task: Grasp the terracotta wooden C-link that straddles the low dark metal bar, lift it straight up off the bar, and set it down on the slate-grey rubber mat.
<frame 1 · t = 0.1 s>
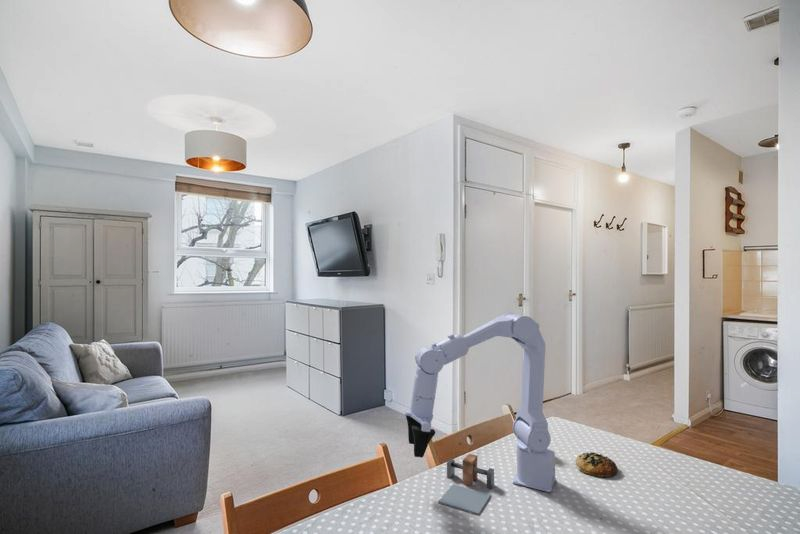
hand: (415, 449, 102), 11 cm above the table, tool pointing down, fingers open, 7 cm apart
mat: (465, 499, 99), on the table
supplement bottle: (530, 452, 125), on the table
bar stand: (470, 480, 107), on the table
bread roll: (595, 470, 114), on the table
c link: (470, 480, 107), on the table
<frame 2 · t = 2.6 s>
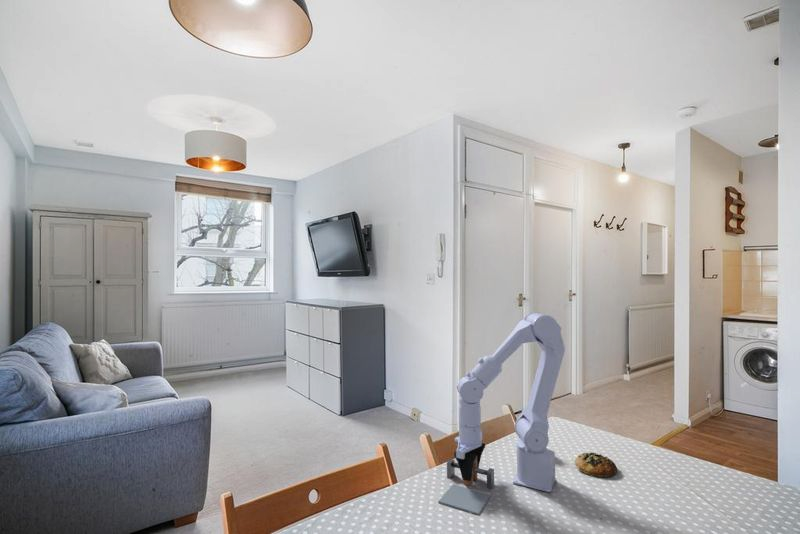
hand: (470, 475, 107), 1 cm above the table, tool pointing down, fingers closed on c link, 5 cm apart
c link: (470, 480, 107), on the table, touching gripper
everything else where it was.
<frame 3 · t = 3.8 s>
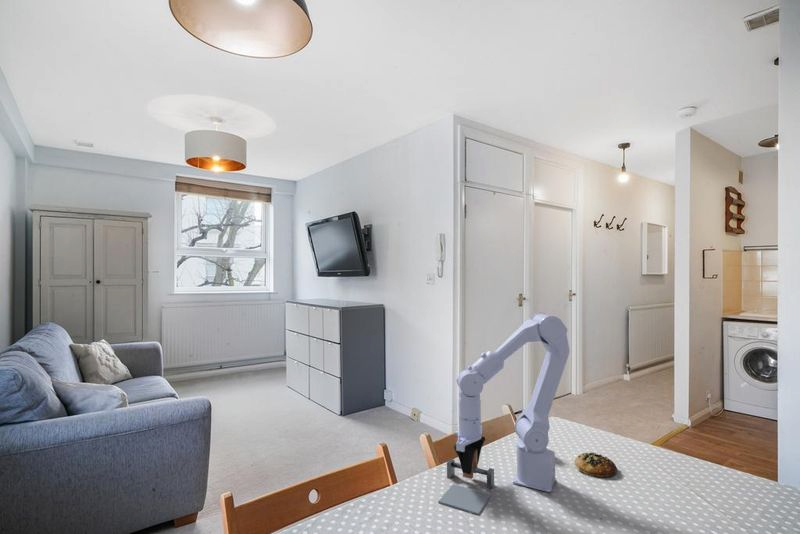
hand: (470, 468, 108), 3 cm above the table, tool pointing down, fingers closed on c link, 5 cm apart
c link: (470, 474, 107), point 2 cm above the table, touching gripper
everything else where it was.
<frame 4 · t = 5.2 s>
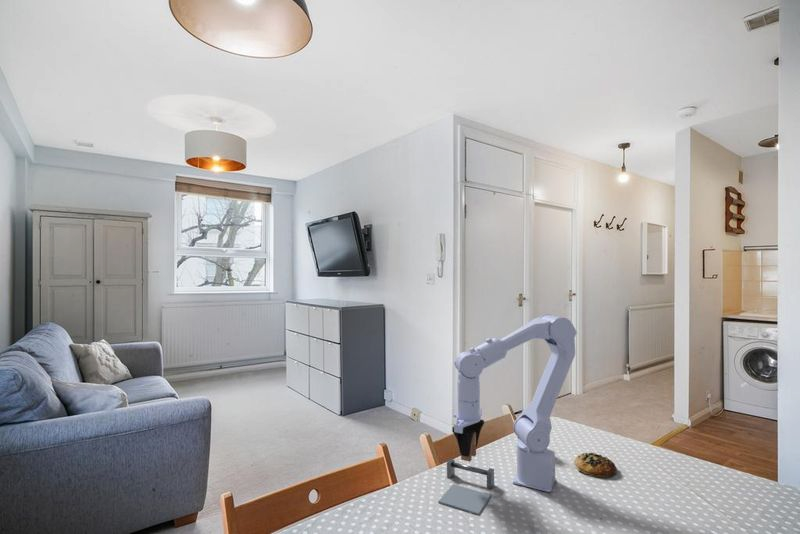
hand: (468, 451, 106), 8 cm above the table, tool pointing down, fingers closed on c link, 5 cm apart
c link: (468, 457, 106), point 7 cm above the table, touching gripper
everything else where it was.
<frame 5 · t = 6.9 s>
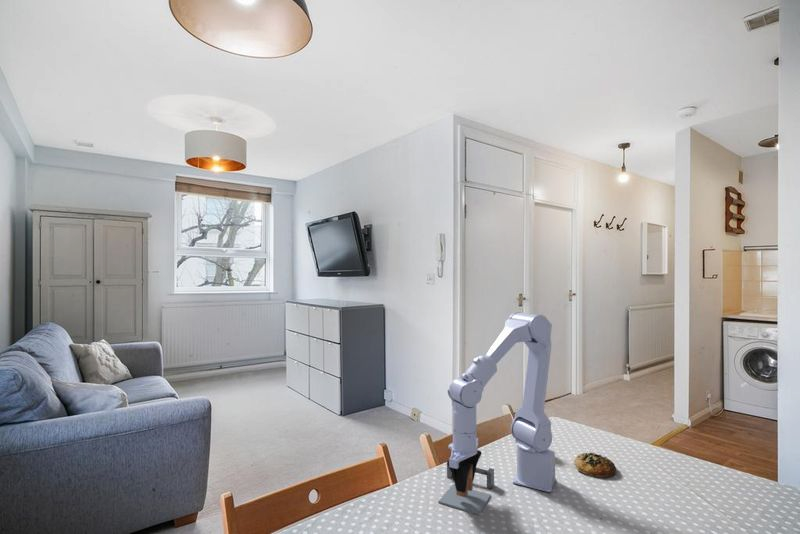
hand: (464, 486, 99), 3 cm above the table, tool pointing down, fingers closed on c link, 5 cm apart
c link: (464, 491, 99), point 2 cm above the table, touching gripper
everything else where it was.
when the fingers open (3 cm above the table, at t = 7.9 s): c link stays where it is, resting on mat.
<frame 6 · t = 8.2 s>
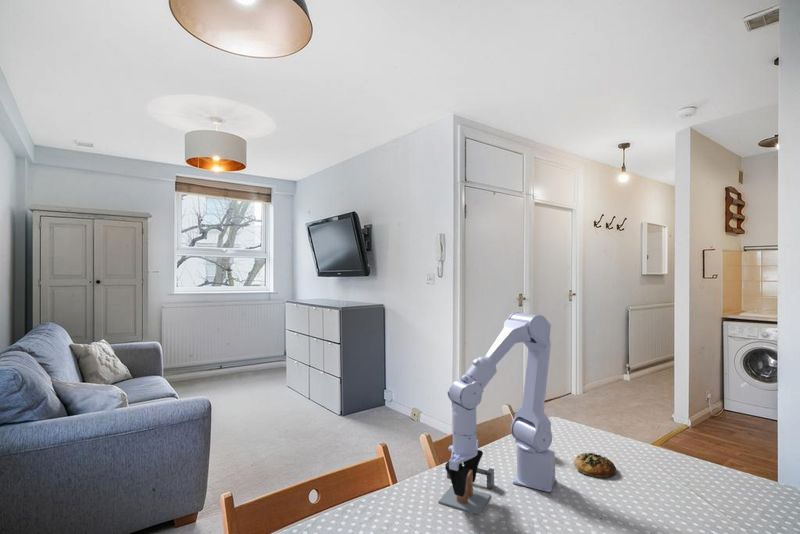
hand: (464, 487, 99), 3 cm above the table, tool pointing down, fingers open, 7 cm apart
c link: (464, 497, 99), resting on mat
everything else where it was.
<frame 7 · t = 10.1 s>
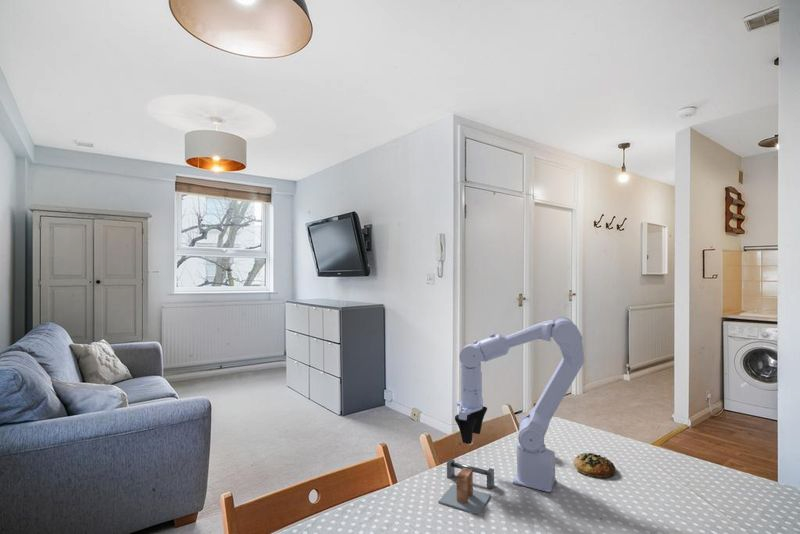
hand: (471, 438, 112), 9 cm above the table, tool pointing down, fingers open, 7 cm apart
nothing on the table moved.
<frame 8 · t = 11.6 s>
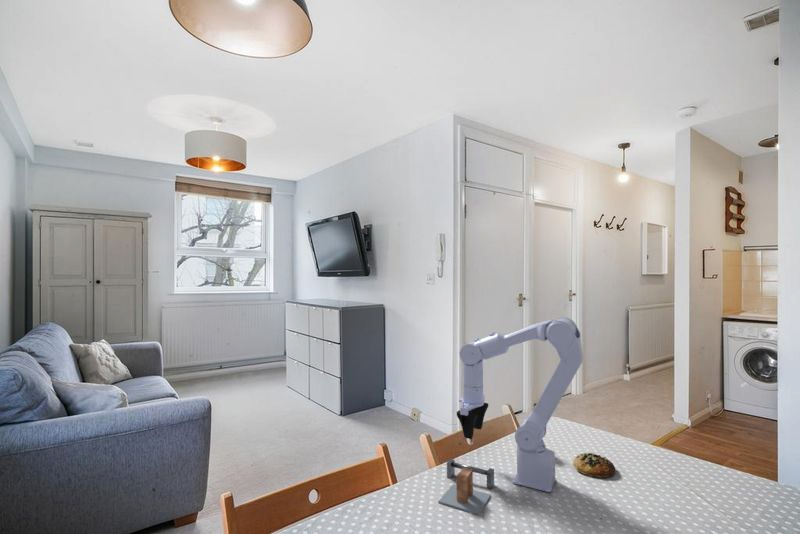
hand: (473, 433, 116), 9 cm above the table, tool pointing down, fingers open, 7 cm apart
nothing on the table moved.
at the end: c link 0.0 cm off-centre on the mat, point 0.4 cm above the mat's base; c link touching mat; the gripper is holding nothing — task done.
